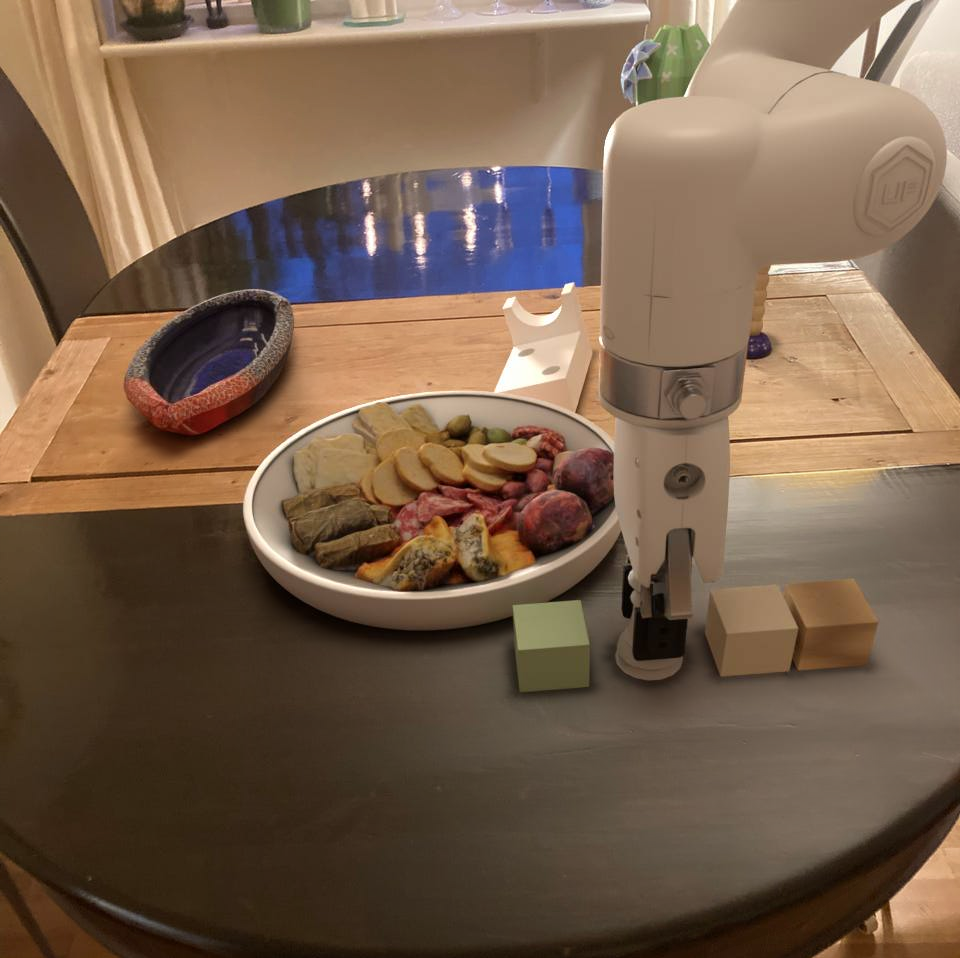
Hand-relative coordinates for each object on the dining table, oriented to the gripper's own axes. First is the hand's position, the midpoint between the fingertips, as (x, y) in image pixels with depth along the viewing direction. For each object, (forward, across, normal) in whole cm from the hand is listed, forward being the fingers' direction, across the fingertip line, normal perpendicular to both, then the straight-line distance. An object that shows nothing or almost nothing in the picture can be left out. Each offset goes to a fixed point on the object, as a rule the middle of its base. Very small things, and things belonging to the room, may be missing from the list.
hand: (651, 632), depth 62 cm
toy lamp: (+3, +47, -19) cm, 51 cm away
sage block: (+3, 0, +7) cm, 7 cm away
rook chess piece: (+3, 0, 0) cm, 3 cm away
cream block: (+3, 0, -6) cm, 7 cm away
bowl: (+3, +18, +14) cm, 23 cm away
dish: (+3, +49, +37) cm, 61 cm away
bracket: (+3, +42, +3) cm, 42 cm away
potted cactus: (+3, +75, -16) cm, 77 cm away
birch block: (+3, 0, -11) cm, 12 cm away
